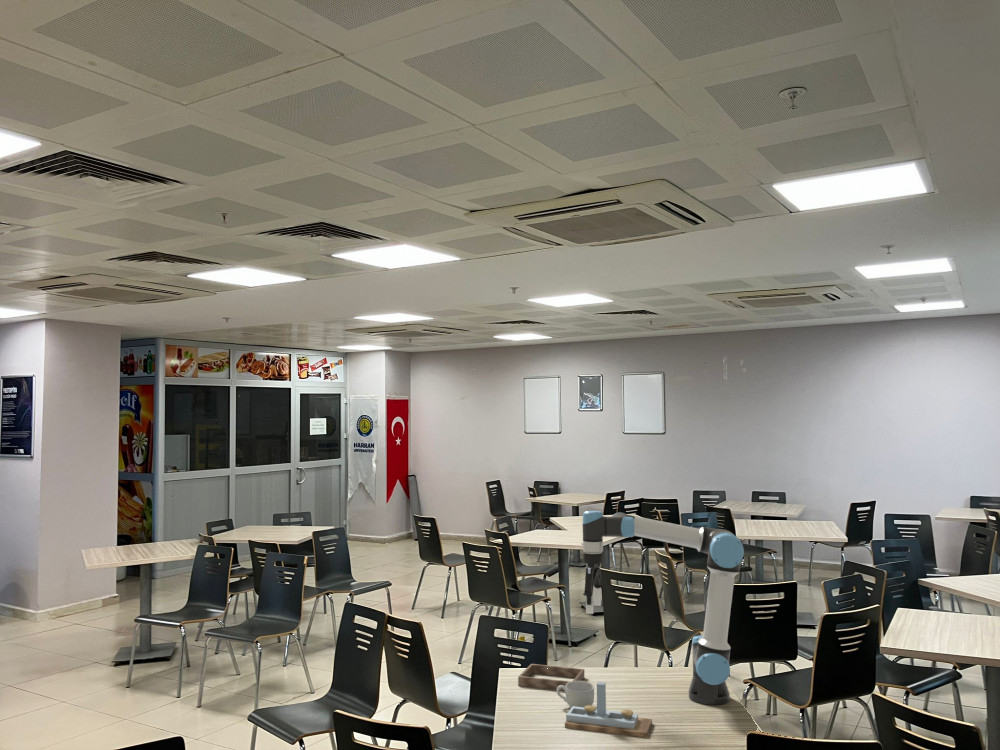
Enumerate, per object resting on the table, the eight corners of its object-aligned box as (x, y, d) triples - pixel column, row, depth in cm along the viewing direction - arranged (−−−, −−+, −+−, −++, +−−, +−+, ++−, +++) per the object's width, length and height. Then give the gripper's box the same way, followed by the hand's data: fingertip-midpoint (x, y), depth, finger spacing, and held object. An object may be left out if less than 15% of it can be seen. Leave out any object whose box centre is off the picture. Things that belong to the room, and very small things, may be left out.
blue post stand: (638, 719, 269) (637, 682, 270) (634, 729, 260) (633, 691, 261) (572, 711, 276) (572, 676, 277) (566, 720, 268) (565, 683, 269)
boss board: (652, 723, 269) (651, 707, 269) (646, 737, 257) (646, 720, 257) (573, 714, 278) (573, 698, 278) (564, 727, 266) (564, 711, 266)
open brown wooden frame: (584, 677, 319) (584, 669, 319) (574, 691, 302) (574, 682, 302) (531, 672, 327) (531, 663, 327) (518, 685, 310) (518, 676, 310)
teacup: (597, 704, 288) (597, 682, 289) (591, 714, 278) (590, 691, 279) (561, 700, 293) (561, 678, 293) (553, 709, 283) (553, 687, 283)
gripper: (590, 547, 305) (590, 601, 304) (575, 556, 282) (576, 616, 280) (609, 547, 303) (609, 603, 301) (595, 557, 279) (596, 617, 278)
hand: (593, 609), depth 291 cm, fingers open, 13 cm apart
